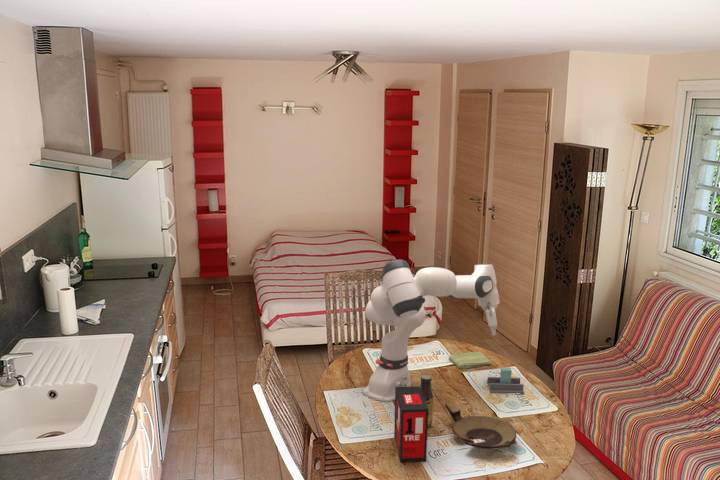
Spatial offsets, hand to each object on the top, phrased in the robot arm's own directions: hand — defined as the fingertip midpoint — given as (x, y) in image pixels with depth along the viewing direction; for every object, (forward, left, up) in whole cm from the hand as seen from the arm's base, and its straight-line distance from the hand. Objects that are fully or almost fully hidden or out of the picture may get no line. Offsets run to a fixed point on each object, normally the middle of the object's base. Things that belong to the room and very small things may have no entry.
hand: (493, 331), depth 253 cm
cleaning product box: (-61, +3, -26) cm, 67 cm away
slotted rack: (+3, -6, -26) cm, 26 cm away
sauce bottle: (-44, +7, -26) cm, 52 cm away
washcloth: (+18, +18, -26) cm, 37 cm away
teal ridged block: (+3, -6, -25) cm, 25 cm away
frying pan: (-39, -14, -26) cm, 49 cm away
